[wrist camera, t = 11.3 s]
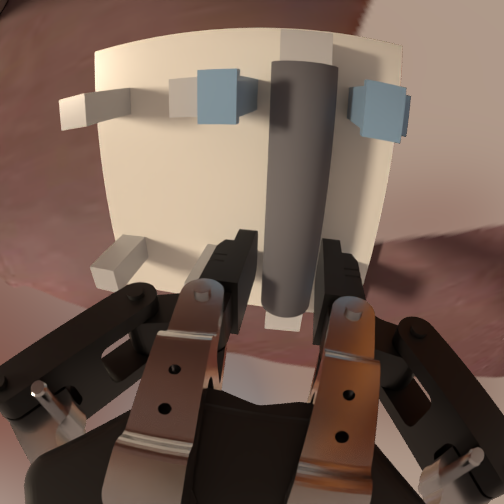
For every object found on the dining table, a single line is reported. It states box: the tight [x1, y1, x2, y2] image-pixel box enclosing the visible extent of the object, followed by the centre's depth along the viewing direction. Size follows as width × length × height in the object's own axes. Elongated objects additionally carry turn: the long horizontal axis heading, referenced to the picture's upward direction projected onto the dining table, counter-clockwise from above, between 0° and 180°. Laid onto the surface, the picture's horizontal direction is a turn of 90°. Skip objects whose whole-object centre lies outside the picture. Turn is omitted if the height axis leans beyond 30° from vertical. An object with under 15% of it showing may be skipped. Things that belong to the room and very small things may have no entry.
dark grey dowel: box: [261, 29, 338, 332], centre depth 17 cm, size 20×4×4 cm, turn 178°
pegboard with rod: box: [59, 28, 411, 313], centre depth 18 cm, size 21×21×6 cm
